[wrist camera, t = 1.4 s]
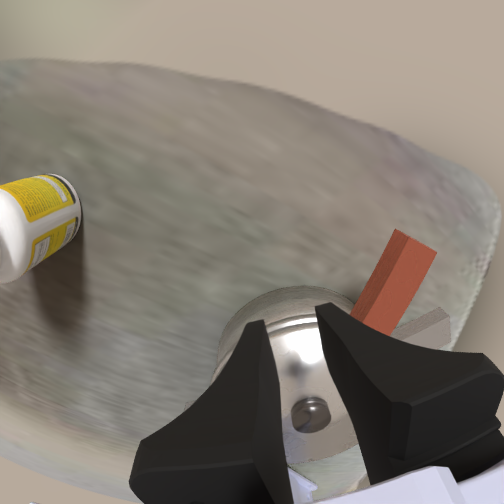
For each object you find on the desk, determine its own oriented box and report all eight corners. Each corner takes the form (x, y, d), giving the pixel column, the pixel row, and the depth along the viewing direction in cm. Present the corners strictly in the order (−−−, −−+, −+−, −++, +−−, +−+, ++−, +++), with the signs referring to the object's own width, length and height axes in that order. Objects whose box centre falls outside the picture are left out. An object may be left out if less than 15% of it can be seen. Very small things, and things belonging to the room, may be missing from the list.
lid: (335, 463, 22) (339, 479, 20) (187, 434, 20) (184, 453, 18) (474, 273, 17) (490, 284, 15) (306, 184, 15) (314, 189, 13)
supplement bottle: (22, 176, 19) (-73, 203, 10) (80, 169, 19) (-15, 193, 10) (30, 246, 21) (-53, 300, 11) (87, 246, 21) (7, 310, 12)
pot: (229, 431, 27) (228, 473, 22) (159, 327, 23) (142, 369, 18) (428, 357, 25) (454, 391, 20) (409, 230, 21) (447, 252, 17)
